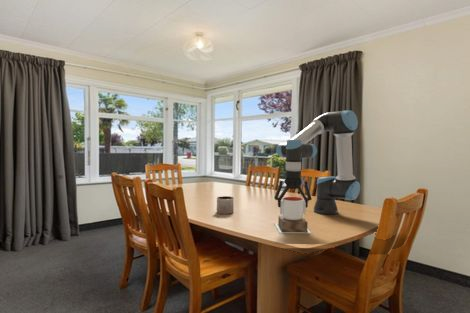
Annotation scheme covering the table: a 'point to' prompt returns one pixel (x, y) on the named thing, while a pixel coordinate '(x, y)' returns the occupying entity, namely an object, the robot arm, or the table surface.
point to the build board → (291, 232)
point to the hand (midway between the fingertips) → (292, 213)
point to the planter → (225, 205)
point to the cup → (292, 208)
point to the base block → (292, 225)
